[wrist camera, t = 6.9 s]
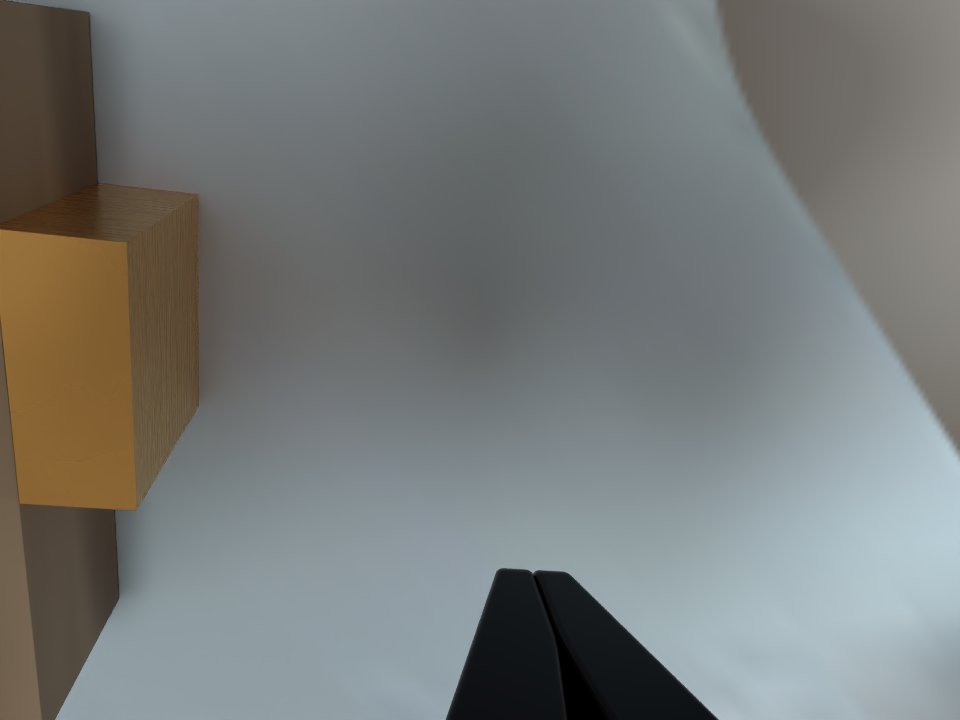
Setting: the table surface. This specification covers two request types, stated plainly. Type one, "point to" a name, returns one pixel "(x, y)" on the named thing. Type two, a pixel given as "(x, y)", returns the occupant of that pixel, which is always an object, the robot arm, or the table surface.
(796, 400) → the table surface
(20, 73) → the walnut block
